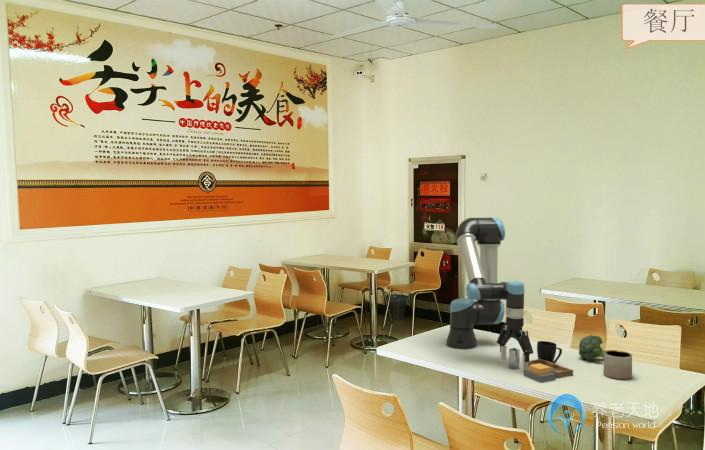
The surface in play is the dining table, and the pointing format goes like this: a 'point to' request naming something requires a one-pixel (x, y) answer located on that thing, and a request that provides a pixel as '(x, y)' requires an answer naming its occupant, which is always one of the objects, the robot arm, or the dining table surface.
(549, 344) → the mug
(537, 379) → the frame
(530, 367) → the orange square block
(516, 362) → the cell
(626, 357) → the planter
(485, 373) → the dining table surface
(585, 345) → the vegetable
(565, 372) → the wooden tray
